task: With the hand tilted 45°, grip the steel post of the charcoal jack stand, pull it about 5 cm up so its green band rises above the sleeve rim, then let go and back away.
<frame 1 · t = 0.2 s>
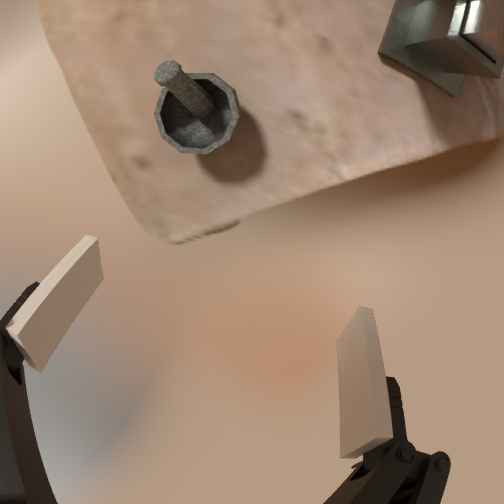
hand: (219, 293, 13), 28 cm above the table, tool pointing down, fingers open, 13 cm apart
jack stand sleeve: (429, 39, 24), on the table
steel post: (475, 32, 14), point 12 cm above the table, slide at 0.0 cm
mortar and pestle: (210, 102, 34), on the table
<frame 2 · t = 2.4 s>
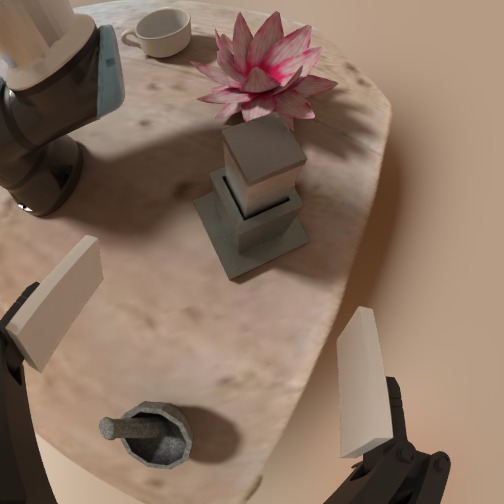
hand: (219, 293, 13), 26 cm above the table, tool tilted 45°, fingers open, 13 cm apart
teacup: (161, 49, 46), on the table
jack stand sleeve: (250, 222, 40), on the table
decorative flower: (259, 101, 44), on the table
steel post: (255, 193, 29), point 12 cm above the table, slide at 0.0 cm
mortar and pestle: (162, 417, 35), on the table
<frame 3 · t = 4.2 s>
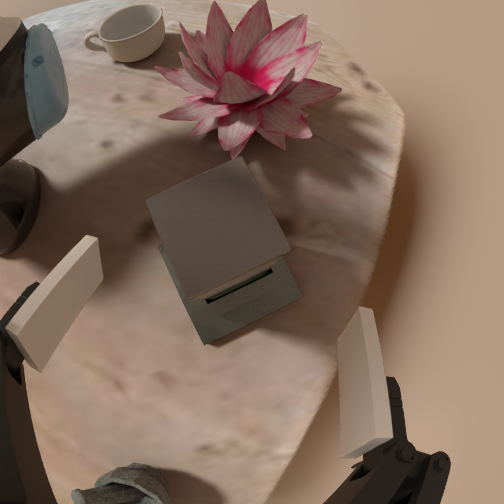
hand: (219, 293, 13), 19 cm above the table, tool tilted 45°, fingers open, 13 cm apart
teacup: (131, 52, 38), on the table
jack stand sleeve: (229, 272, 33), on the table
decorative flower: (244, 111, 36), on the table
steel post: (225, 258, 21), point 12 cm above the table, slide at 0.0 cm
mortar and pestle: (140, 476, 28), on the table
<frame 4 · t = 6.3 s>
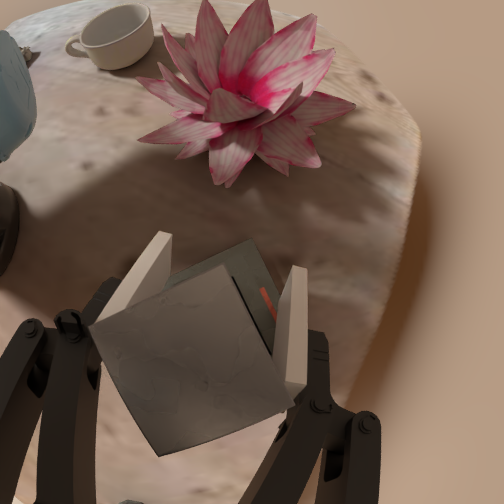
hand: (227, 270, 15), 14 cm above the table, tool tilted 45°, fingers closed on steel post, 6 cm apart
teacup: (117, 58, 34), on the table
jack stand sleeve: (223, 319, 29), on the table
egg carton: (14, 72, 34), on the table
decorative flower: (241, 128, 32), on the table
steel post: (214, 332, 17), point 12 cm above the table, slide at 0.0 cm, touching gripper
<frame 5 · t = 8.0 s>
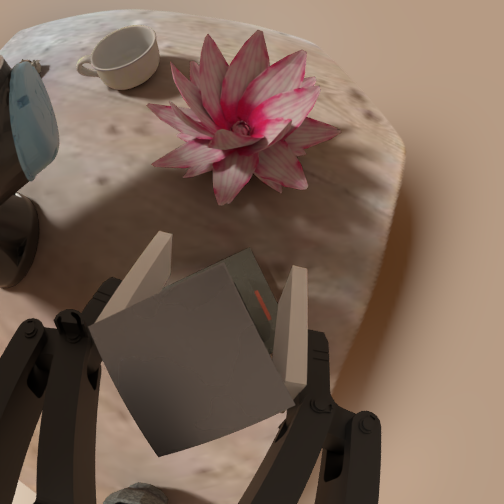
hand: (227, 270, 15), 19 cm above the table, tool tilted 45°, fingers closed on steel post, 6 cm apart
teacup: (126, 77, 39), on the table
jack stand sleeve: (225, 316, 33), on the table
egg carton: (25, 84, 39), on the table
decorative flower: (240, 148, 37), on the table
steel post: (214, 332, 17), point 17 cm above the table, slide at 5.0 cm, touching gripper
mortar and pestle: (144, 493, 28), on the table
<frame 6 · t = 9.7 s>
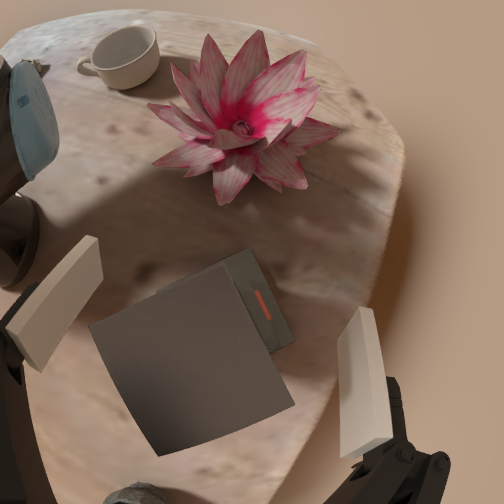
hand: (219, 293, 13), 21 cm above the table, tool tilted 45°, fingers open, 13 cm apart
teacup: (126, 77, 39), on the table
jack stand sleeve: (225, 316, 33), on the table
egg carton: (25, 84, 39), on the table
decorative flower: (240, 148, 37), on the table
steel post: (214, 331, 17), point 17 cm above the table, slide at 5.0 cm
mortar and pestle: (143, 493, 28), on the table
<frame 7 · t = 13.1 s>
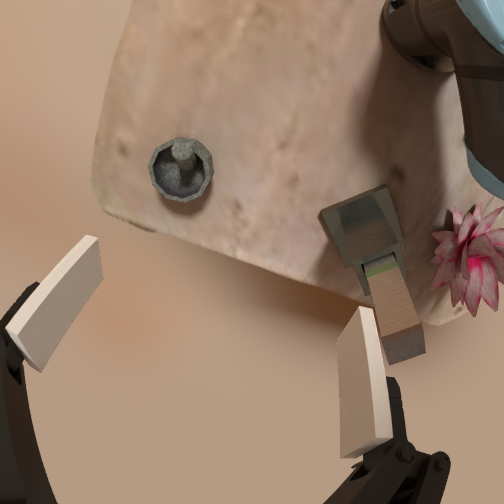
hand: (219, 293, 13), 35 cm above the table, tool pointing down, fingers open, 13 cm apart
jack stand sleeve: (364, 225, 48), on the table
decorative flower: (461, 236, 46), on the table
steel post: (387, 288, 34), point 17 cm above the table, slide at 5.0 cm
mortar and pestle: (195, 154, 45), on the table
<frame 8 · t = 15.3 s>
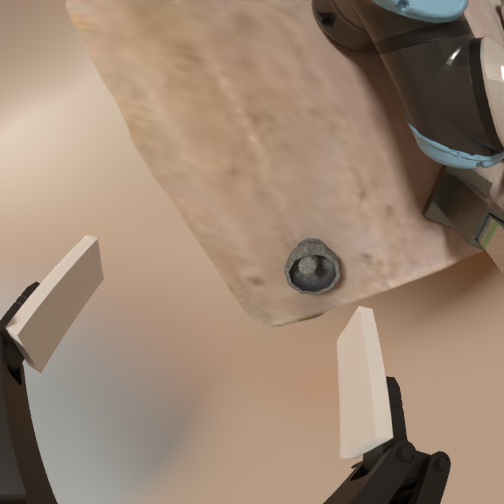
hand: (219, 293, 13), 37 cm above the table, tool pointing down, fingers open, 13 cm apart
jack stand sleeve: (457, 196, 43), on the table
steel post: (502, 243, 30), point 17 cm above the table, slide at 5.0 cm
mortar and pestle: (310, 248, 55), on the table
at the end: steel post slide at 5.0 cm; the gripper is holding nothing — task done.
